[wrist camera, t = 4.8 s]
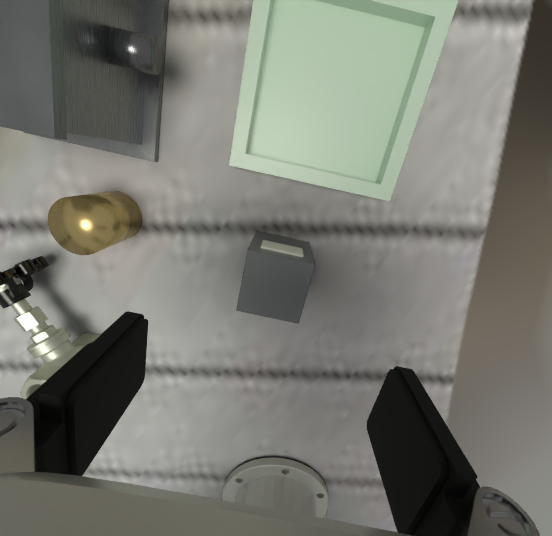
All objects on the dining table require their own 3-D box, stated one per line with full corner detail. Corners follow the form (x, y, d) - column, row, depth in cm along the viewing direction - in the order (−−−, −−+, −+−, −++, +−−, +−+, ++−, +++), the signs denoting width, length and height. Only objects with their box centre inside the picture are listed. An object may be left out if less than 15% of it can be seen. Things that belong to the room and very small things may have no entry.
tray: (381, 198, 23) (389, 201, 21) (233, 165, 22) (229, 165, 21) (441, 17, 19) (458, 0, 17) (263, -28, 18) (261, -50, 17)
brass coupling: (140, 242, 25) (106, 260, 20) (95, 233, 25) (49, 248, 20) (143, 196, 24) (106, 204, 19) (94, 186, 23) (46, 190, 19)
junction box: (174, 165, 23) (99, 164, 14) (30, 133, 22) (-147, 109, 13) (191, -26, 19) (100, -208, 10) (16, -69, 18) (-252, -303, 9)
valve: (133, 353, 29) (59, 248, 25) (91, 403, 23) (-15, 274, 19) (81, 373, 30) (3, 275, 27) (28, 427, 24) (-83, 308, 20)
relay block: (296, 289, 26) (298, 323, 20) (247, 279, 26) (236, 310, 20) (309, 240, 24) (315, 262, 19) (257, 229, 24) (248, 247, 18)
